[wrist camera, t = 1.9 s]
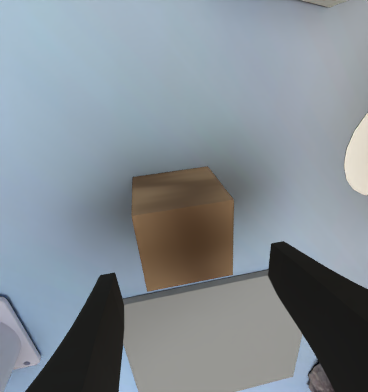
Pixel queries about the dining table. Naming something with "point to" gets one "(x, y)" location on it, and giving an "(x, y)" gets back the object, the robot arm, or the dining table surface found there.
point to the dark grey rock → (319, 380)
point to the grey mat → (210, 336)
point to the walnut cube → (182, 227)
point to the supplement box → (326, 2)
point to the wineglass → (358, 158)
